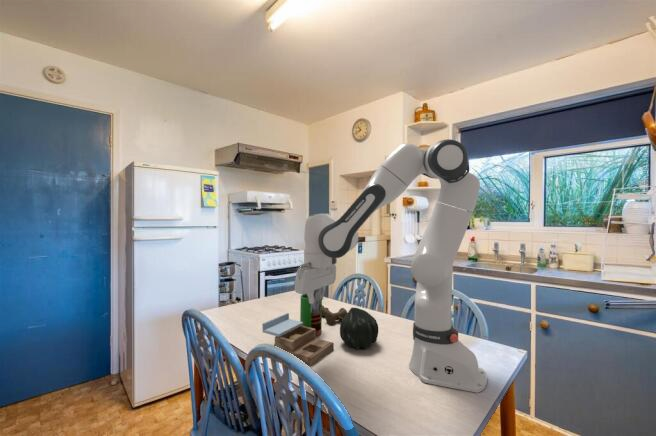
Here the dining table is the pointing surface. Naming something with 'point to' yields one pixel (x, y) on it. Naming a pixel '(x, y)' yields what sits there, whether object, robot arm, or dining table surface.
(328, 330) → the dining table surface
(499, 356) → the dining table surface
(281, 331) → the lid
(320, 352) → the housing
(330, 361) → the dining table surface
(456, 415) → the dining table surface
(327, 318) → the brown rope toy
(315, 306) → the jaw peg
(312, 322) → the motor
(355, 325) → the squash
